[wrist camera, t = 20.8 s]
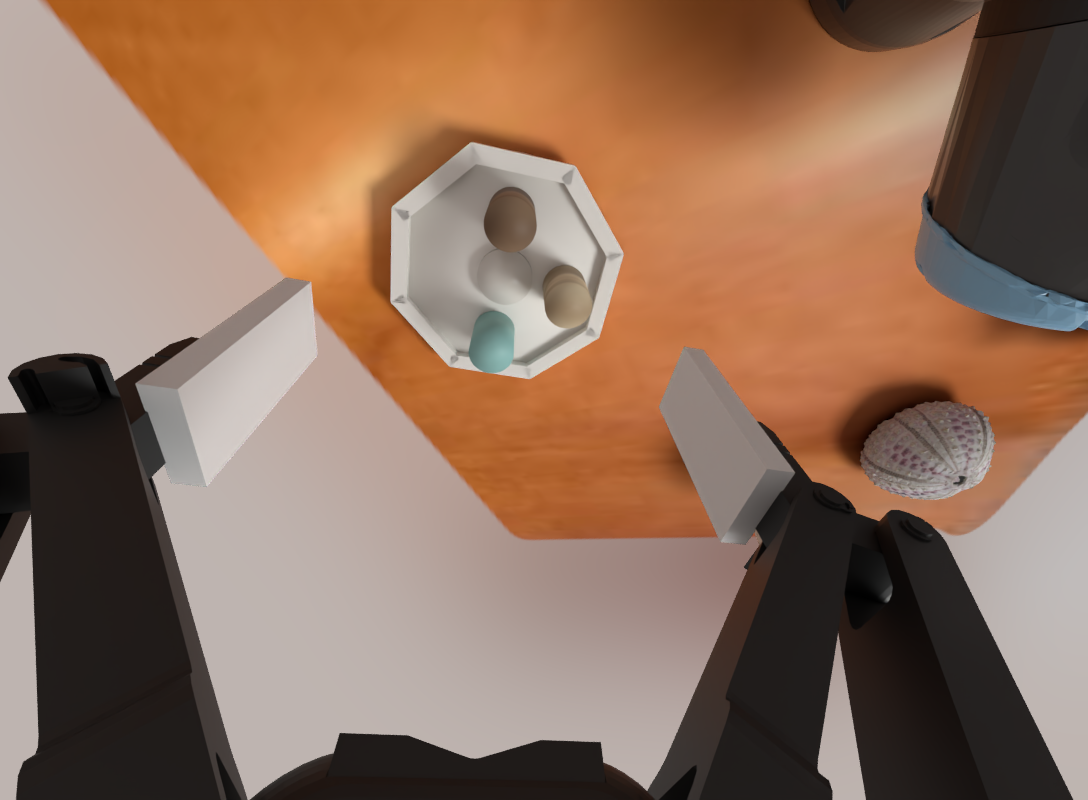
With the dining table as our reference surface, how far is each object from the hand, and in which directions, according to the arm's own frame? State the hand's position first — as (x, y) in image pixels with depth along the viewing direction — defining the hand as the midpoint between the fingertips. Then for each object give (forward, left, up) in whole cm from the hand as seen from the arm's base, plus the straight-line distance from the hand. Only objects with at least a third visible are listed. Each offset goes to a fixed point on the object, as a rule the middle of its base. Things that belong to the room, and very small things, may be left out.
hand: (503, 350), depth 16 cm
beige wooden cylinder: (+6, +6, -26) cm, 27 cm away
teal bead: (+11, 0, -26) cm, 28 cm away
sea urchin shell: (+17, +52, -27) cm, 61 cm away
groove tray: (+6, 0, -27) cm, 27 cm away
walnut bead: (0, 0, -26) cm, 26 cm away
